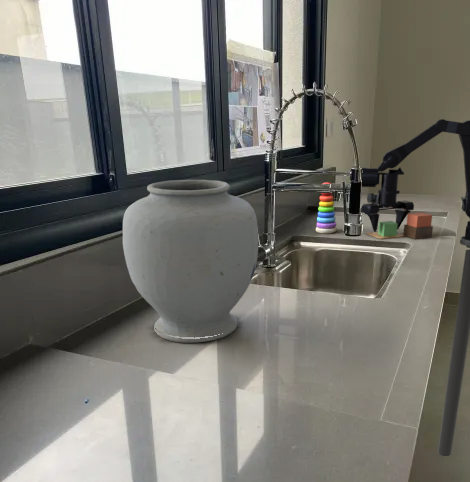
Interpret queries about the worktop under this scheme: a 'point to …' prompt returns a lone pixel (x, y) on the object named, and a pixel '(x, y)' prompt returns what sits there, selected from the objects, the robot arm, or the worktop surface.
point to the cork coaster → (384, 237)
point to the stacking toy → (326, 214)
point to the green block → (387, 228)
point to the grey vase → (191, 255)
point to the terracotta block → (419, 219)
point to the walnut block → (418, 232)
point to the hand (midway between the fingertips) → (385, 230)
